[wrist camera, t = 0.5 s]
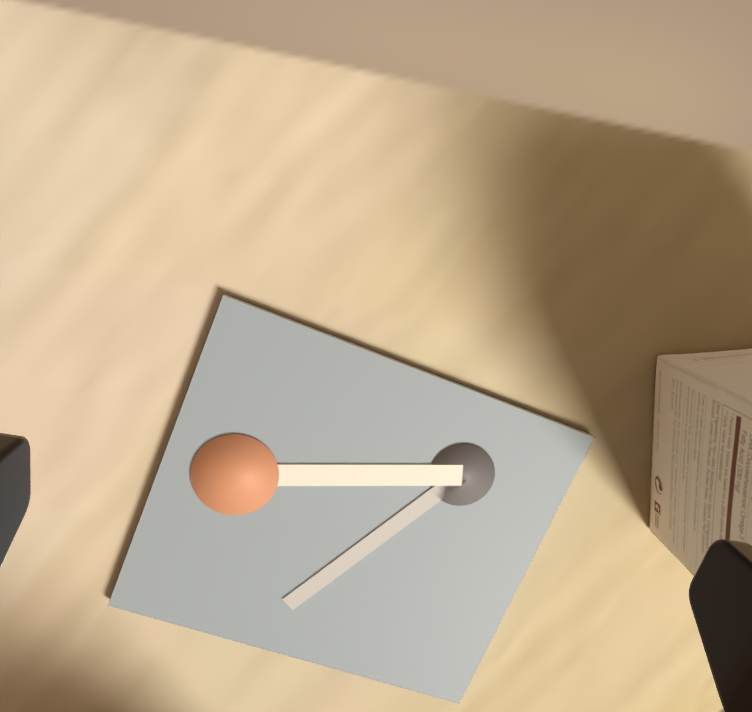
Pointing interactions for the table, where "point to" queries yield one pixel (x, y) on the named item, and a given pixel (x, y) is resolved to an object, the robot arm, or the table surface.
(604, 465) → the table surface
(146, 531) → the card
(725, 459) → the supplement box
